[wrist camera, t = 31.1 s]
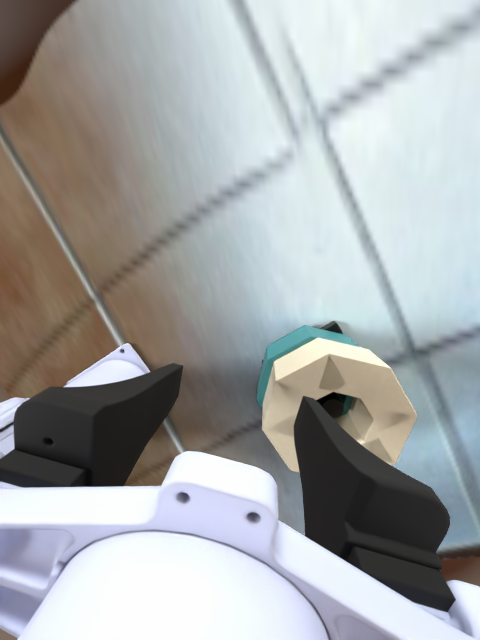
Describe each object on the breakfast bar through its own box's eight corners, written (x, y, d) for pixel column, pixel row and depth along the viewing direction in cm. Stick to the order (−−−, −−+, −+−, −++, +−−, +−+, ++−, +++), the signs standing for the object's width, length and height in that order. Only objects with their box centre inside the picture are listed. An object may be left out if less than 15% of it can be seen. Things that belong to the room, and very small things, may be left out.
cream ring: (302, 461, 21) (309, 498, 18) (244, 376, 20) (240, 399, 17) (407, 417, 19) (436, 448, 16) (351, 318, 18) (370, 331, 15)
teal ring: (292, 434, 25) (296, 460, 21) (242, 359, 23) (238, 375, 20) (380, 393, 23) (400, 415, 19) (332, 309, 21) (344, 317, 18)
